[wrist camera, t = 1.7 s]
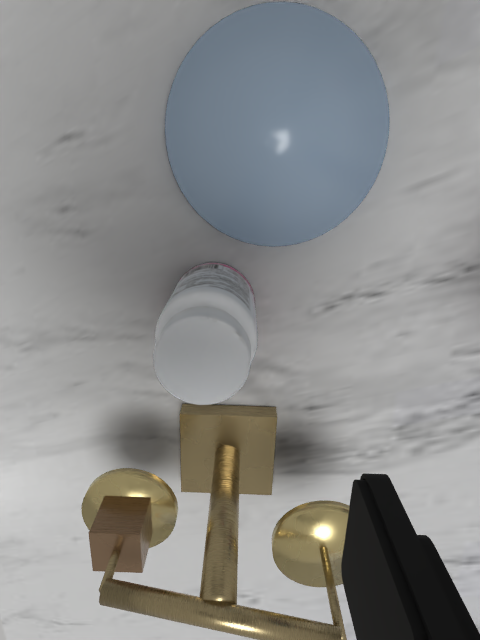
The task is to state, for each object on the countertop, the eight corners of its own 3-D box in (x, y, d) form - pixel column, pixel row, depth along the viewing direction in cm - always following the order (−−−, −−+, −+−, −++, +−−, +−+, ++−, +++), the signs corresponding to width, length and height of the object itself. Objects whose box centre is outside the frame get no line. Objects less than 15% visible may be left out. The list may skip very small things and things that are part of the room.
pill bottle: (234, 350, 26) (230, 431, 18) (162, 319, 26) (124, 389, 18) (269, 281, 25) (280, 337, 17) (193, 247, 24) (167, 287, 16)
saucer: (165, 5, 20) (161, -3, 19) (399, 13, 20) (406, 5, 19) (170, 239, 24) (167, 242, 23) (367, 246, 24) (372, 249, 23)
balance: (112, 401, 28) (8, 587, 15) (345, 409, 28) (423, 601, 15) (118, 476, 30) (30, 693, 18) (335, 484, 30) (396, 706, 18)
